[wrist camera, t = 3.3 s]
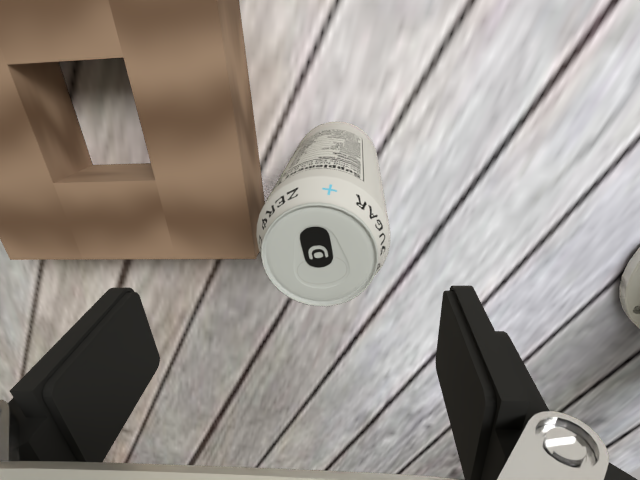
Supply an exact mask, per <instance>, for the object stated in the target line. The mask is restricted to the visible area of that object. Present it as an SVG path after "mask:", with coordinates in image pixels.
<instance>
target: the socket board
mask: <svg viewBox="0 0 640 480" xmlns="http://www.w3.org/2000/svg"><path fill="white" fill-rule="evenodd" d="M110 58H124V61H125V65H126V69H127V73H128V77H129V81H130V85H131V88H132V92H133V96H134V100H135V104H136V108H137V111H138V115H139V119H140V123H141V127H142V131H143V134H144V138H145V142H146V146H147V150H148V154H149V158H150V161H151V163H146V164H114V165H92V162H91V159H90V156H89V153H88V150H87V146H86V143H85V140H84V137H83V134H82V131H81V128H80V125H79V122H78V119H77V116H76V113H75V110H74V107H73V104H72V101H71V98H70V95H69V92H68V89H67V86H66V83H65V80H64V77H63V74H62V71H61V68H60V65H59V62H62V61H78V60H94V59H110ZM264 204H265V201H264V193H263V185H262V177H261V169H260V162H259V154H258V146H257V138H256V131H255V123H254V115H253V107H252V100H251V92H250V84H249V76H248V68H247V61H246V53H245V45H244V37H243V30H242V22H241V14H240V6H239V0H0V239H1V241H2V243H3V245H4V248H5V250H6V252H7V254H8V256H9V258H10V260H24V259H256V258H257V255H258V253H259V248H258V243H257V237H256V233H257V222H258V218H259V214H260V212H261V210H262V208H263V206H264Z"/></svg>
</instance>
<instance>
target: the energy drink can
mask: <svg viewBox="0 0 640 480" xmlns="http://www.w3.org/2000/svg"><path fill="white" fill-rule="evenodd" d="M256 237H257V243H258V248H259V251H260V253H261V258H262V264H263V267H264V270H265V272H266V274H267V276H268V278H269V279H270V281H271V282H272V284H273V285H274V286H275V287H276V288H277V289H278V290H279V291H280V292H282V293H283V294H285V295H286V296H287V297H289V298H291V299H293V300H295V301H297V302H300V303H303V304H307V305H312V306H333V305H338V304H342V303H344V302H347V301H350V300H351V299H353V298H355V297H357V296H358V295H359V294H361V293H362V292H363V291H364V290H365V289H366V288H367V287H368V285H369V284H370V283H371V281H372V280H373V278H374V276H375V275H376V274H377V272H378V271H379V270H380V268H381V267H382V266H383V264H384V262H385V259H386V257H387V255H388V251H389V246H390V227H389V222H388V216H387V210H386V204H385V198H384V192H383V186H382V181H381V175H380V169H379V163H378V157H377V153H376V149H375V147H374V144H373V142H372V141H371V139H370V138H369V137H368V135H367V134H366V133H364V132H363V131H362V130H361V129H359V128H358V127H356V126H354V125H352V124H349V123H345V122H328V123H325V124H321V125H319V126H317V127H315V128H314V129H312V130H311V131H310V132H309V133H308V134H307V135H306V136H305V137H304V138H303V140H302V141H301V143H300V145H299V146H298V148H297V150H296V151H295V153H294V155H293V157H292V158H291V160H290V162H289V163H288V165H287V167H286V168H285V170H284V172H283V173H282V175H281V177H280V179H279V180H278V182H277V184H276V185H275V187H274V189H273V190H272V192H271V194H270V196H269V197H268V199H267V201H266V202H265V204H264V206H263V208H262V210H261V212H260V214H259V218H258V222H257V233H256Z"/></svg>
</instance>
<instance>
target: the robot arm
mask: <svg viewBox="0 0 640 480" xmlns="http://www.w3.org/2000/svg"><path fill="white" fill-rule="evenodd" d="M619 297H620V302H621V305H622V308H623V310H624V312H625V313H626V315H627V316H628V318H629V319H630V320H631V321H632V322H633V323H634V324H635V325H636V326H637V327H638V328H639V329H640V248H639V249H638V250H637V251H636V252H635V254H634V255H633V257H632V258H631V259H630V261H629V262H628V264H627V266H626V268H625V270H624V272H623V274H622V278H621V282H620V287H619ZM159 361H160V357H159V353H158V350H157V347H156V344H155V341H154V338H153V335H152V332H151V329H150V326H149V323H148V320H147V317H146V314H145V311H144V308H143V305H142V302H141V299H140V296H139V294H138V293H136V292H134V290H133V289H132V288H110V289H109V290H108V291H107V292H106V293H105V294H104V295H103V296H102V297H101V298H100V299H99V300H98V301H97V302H96V303H95V304H94V305H93V306H92V307H91V308H90V309H89V310H88V311H87V312H86V313H85V314H84V315H83V316H82V317H81V318H80V319H79V320H78V322H77V323H76V324H75V325H74V326H73V327H72V328H71V329H70V330H69V331H68V332H67V333H66V334H65V335H64V336H63V337H62V338H61V339H60V340H59V341H58V342H57V343H56V344H55V345H54V346H53V347H52V348H51V349H50V350H49V351H48V352H47V353H46V354H45V355H44V356H43V357H42V358H41V359H40V360H39V361H38V363H37V364H36V365H35V366H34V367H33V368H32V369H31V370H30V371H29V372H28V373H27V374H26V375H25V376H24V377H23V378H22V379H21V380H20V381H19V382H18V383H17V384H16V385H15V386H14V387H13V388H12V389H11V390H10V392H11V394H12V395H13V397H14V398H13V399H12V400H11V401H10V402H9V403H7V402H6V401H4V400H0V480H461V479H452V478H443V477H433V476H419V475H402V474H385V473H369V472H346V471H322V470H299V469H275V468H249V467H222V466H194V465H166V464H135V463H102V462H103V460H104V458H105V457H106V455H107V453H108V451H109V450H110V448H111V446H112V445H113V443H114V441H115V440H116V438H117V436H118V434H119V433H120V431H121V429H122V428H123V426H124V424H125V423H126V421H127V419H128V418H129V416H130V414H131V412H132V411H133V409H134V407H135V406H136V404H137V402H138V401H139V399H140V397H141V396H142V394H143V392H144V390H145V389H146V387H147V385H148V384H149V382H150V380H151V379H152V377H153V375H154V374H155V372H156V370H157V368H158V366H159ZM436 370H437V374H438V378H439V382H440V386H441V390H442V393H443V397H444V401H445V405H446V409H447V413H448V416H449V420H450V424H451V428H452V432H453V435H454V439H455V443H456V447H457V451H458V454H459V458H460V462H461V466H462V470H463V473H464V477H465V480H637V479H635V478H634V477H632V476H631V475H629V474H627V473H626V472H624V471H622V470H621V469H619V468H617V467H616V466H614V465H612V464H611V463H609V454H608V451H607V449H606V446H605V444H604V443H603V441H602V440H601V438H600V437H599V436H598V434H597V433H595V432H594V431H593V430H592V429H591V428H590V427H589V426H588V425H586V424H585V423H583V422H581V421H580V420H578V419H577V418H574V417H572V416H569V415H567V414H564V413H560V412H554V411H549V409H548V408H547V406H546V404H545V402H544V400H543V398H542V397H541V395H540V393H539V391H538V389H537V387H536V385H535V384H534V382H533V380H532V378H531V376H530V374H529V372H528V371H527V369H526V367H525V365H524V363H523V361H522V359H521V358H520V356H519V354H518V352H517V350H516V348H515V346H514V345H513V343H512V341H511V339H510V337H509V336H508V334H507V333H505V332H504V331H495V330H494V328H493V326H492V324H491V322H490V320H489V318H488V316H487V314H486V312H485V310H484V308H483V306H482V304H481V302H480V300H479V298H478V296H477V294H476V292H475V290H474V288H473V287H472V286H451V288H450V291H444V293H443V300H442V308H441V317H440V326H439V335H438V344H437V353H436Z"/></svg>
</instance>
